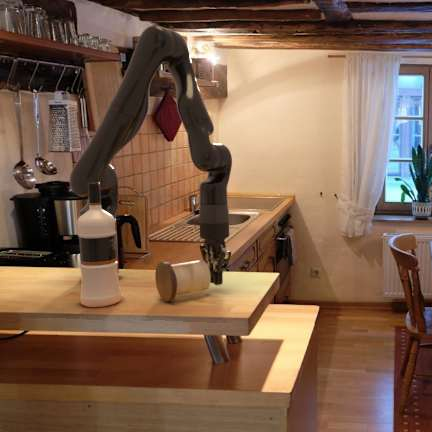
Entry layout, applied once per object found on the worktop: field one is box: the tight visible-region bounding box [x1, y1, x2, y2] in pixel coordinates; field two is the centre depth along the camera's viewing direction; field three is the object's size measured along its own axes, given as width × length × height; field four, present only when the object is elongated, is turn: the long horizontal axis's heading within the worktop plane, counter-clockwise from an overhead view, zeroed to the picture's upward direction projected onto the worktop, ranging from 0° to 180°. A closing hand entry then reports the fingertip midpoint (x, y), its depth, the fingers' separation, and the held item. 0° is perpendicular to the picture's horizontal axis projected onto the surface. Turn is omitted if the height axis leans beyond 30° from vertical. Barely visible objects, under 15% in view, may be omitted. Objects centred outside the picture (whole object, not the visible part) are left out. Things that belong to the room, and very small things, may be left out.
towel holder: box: [154, 259, 224, 303], centre depth 146 cm, size 10×16×10 cm, turn 134°
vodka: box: [76, 182, 123, 308], centre depth 137 cm, size 9×9×30 cm
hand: (216, 283), depth 151 cm, fingers closed on towel holder, 2 cm apart
